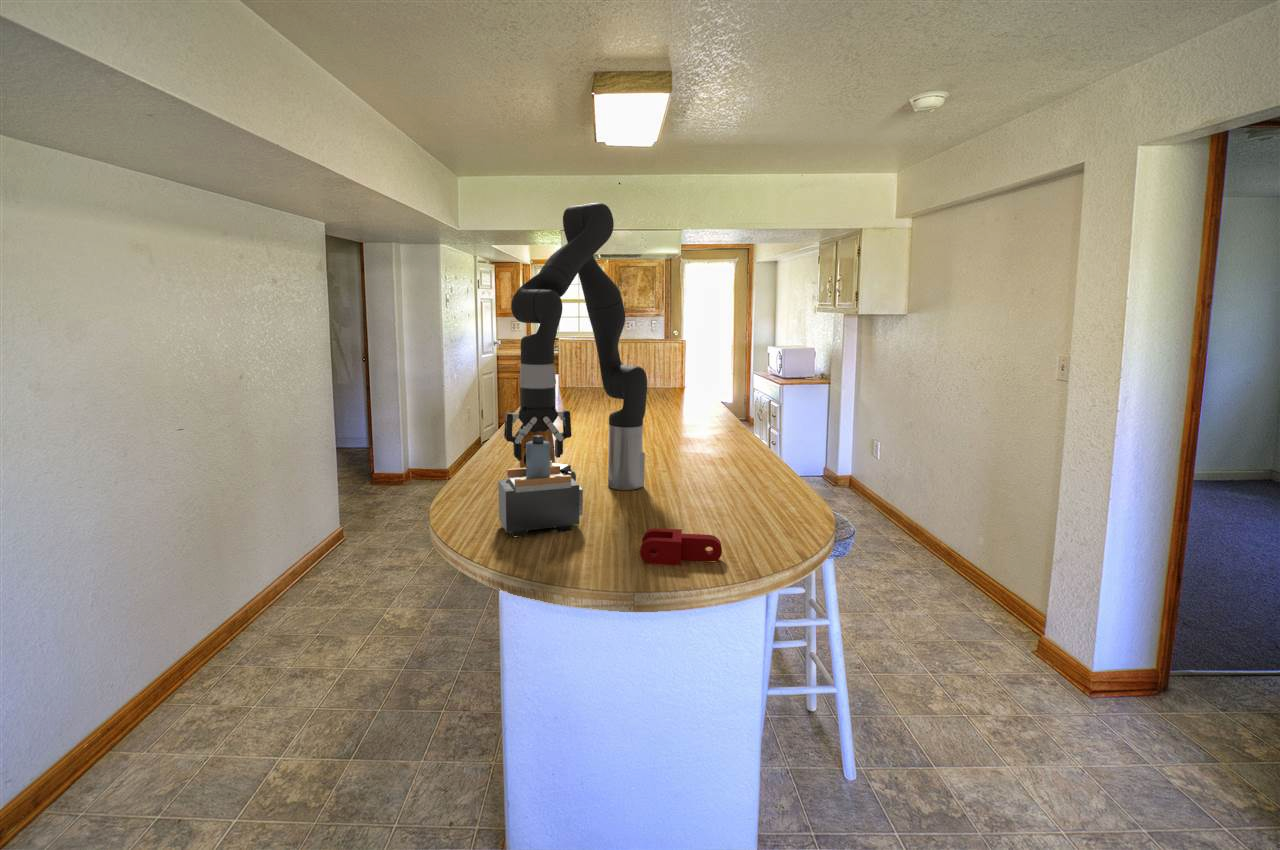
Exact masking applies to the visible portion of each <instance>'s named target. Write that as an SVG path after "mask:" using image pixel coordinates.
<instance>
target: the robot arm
mask: <svg viewBox="0 0 1280 850" xmlns="http://www.w3.org/2000/svg"><path fill="white" fill-rule="evenodd" d="M614 222H615V221H614V216H613V213H612V211H611V209H610V208H609V206H608V205H607V204H605V203H603V202H592V203H585V204H578V205H571V206H568V207H566V208H565V209H564V211H563V215H562V226H563V227H562V228H563V232H564V235H565V238H566V242H567V243H565V244H564V245H563V246H562V247H560V248H559V249H557V250H556V251H554V252H553V253H552V254H551V255H550V256H549V257H548V259H547V260H546V261H545V263H544V265H543V266H542V267H541V269H540V271H539V272H538V273H537V274H536V275H534V276H532V278H529V280H527V281H526V282H524V283H523V284H522V285H521V286H520V287H519V288H518V289H517V290H516V292H515V293H514V295H513V297H512V299H511V302H510V303H511V305H510V307H511V308H510V310H511V313H512V316H513V317H514V318H515V319H516V320H517V321H518V322H519V323H520V322H521V323H524V324H539V326H538V329H537V331H536V333H532V334H528V335H527V334H526V335H524V336H523V337H522V338H521V339H520V340H521V341H520V367H519V368H520V371H519V412H509V411H507V412H505V414H504V431H503V432H504V434H503V438H504V439H505V440H506V441H507V442H510V443H513V447H512V448H513V457H514V458H515V459H516V460H517V461H518V462H519V461H521V460H522V447H521V440H522V439H523V438H524V436H526V435H527V433H528V432H529V431H531V432H537V431H542V432H546V431H547V430H550V431H551V432H552V435H553V437H555V439H554V452H555V458H556V459H559V458H561V456H562V455H563V453H564V441H565V440H566V439H567V438H568V439H570V438H571V437H572V436H573V435H572V421H571V420H572V419H571V412H570V411H569V410H567V409H565V408H564V409H562V410H557V408H556V406H557V405H556V384H557V380H556V369H555V344H556V338H557V334H558V329H559V325H560V322H561V318H562V315H563V301H562V299H561V297H563V296H564V295H565V294H566V292H567V291H568V289H569V287H570V286H571V284H572V283H573V281H574V279H575V278H576V276H577V275H578V278H579V281H580V285H581V286H580V287H581V288H582V293H583V297H584V303H585V307H586V311H587V315H588V318H589V322H590V325H591V329H592V332H593V333H592V334H593V337H594V341H595V346H596V350H597V356H598V357H597V358H598V362H599V363H598V364H599V368H600V369H599V371H600V376H601V383H602V386H603V390H604V392H605V394H606V395H607V396H608V397H610V398H612V399H617V400H623V403H622V408H621V409H619V410H617V411H616V410H615V411H614V412H611V413H610V414H609V416H608V457H607V458H608V461H607V463H608V464H607V465H608V466H607V467H608V468H607V475H608V476H607V486H608V487H609V488H610V489H613V490H619V491H633V490H637V489H640V488H644V487H645V472H646V470H645V464H646V462H645V461H646V453H645V452H643V441H644V440H643V434H644V433H643V431H644V429H643V428H644V418H645V416H646V415H645V414H646V410H647V407H646V406H647V397H648V396H647V394H648V376H647V374H646V370H645V369H644V368H642V367H641V366H637V365H629V364H623V363H622V361H621V357H620V352H619V341H620V339H621V336H622V333H623V330H624V327H625V324H626V312H625V311H626V310H625V306H624V302H623V298H622V293H621V291H620V289H619V287H618V286H617V285H616V283H615V282H614V281H613V279H611V278H610V276H609V275H608V274H607V272H605V271H604V270H603V269H602V267H601V266H600V265H599V264H598V262H597V260H596V258H595V256H594V255H595V254H596V253H597V252H598V251H599V250H601V248H602V247H603V246H604V245H605V244H607V242H609V240H610V238H611V237H612V235H613V231H614V226H615V225H614ZM558 417H559V419H560V421H562V432H560V431H559V430H558V428H557V427H556V426H555V425H554V423H555V421H557V418H558ZM517 420H520V422H521V425H520V426H519V427H518V430H517V431H516V432H515V434H514V435H513V424H516V421H517ZM526 429H527V430H526Z"/></svg>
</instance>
